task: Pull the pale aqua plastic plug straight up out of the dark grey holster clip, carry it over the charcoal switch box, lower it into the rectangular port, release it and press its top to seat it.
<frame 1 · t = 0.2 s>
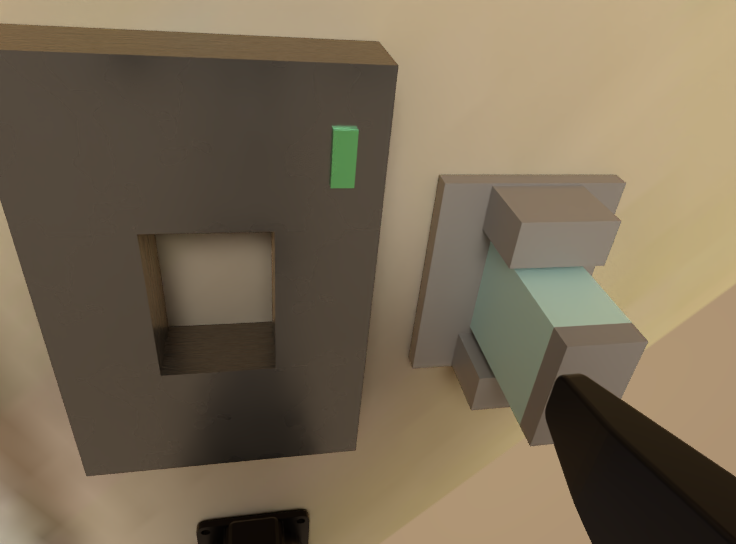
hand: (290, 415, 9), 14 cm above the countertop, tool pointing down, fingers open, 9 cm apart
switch: (216, 263, 23), on the countertop
holster: (504, 273, 27), on the countertop
plug: (511, 282, 26), point 1 cm above the countertop, touching holster
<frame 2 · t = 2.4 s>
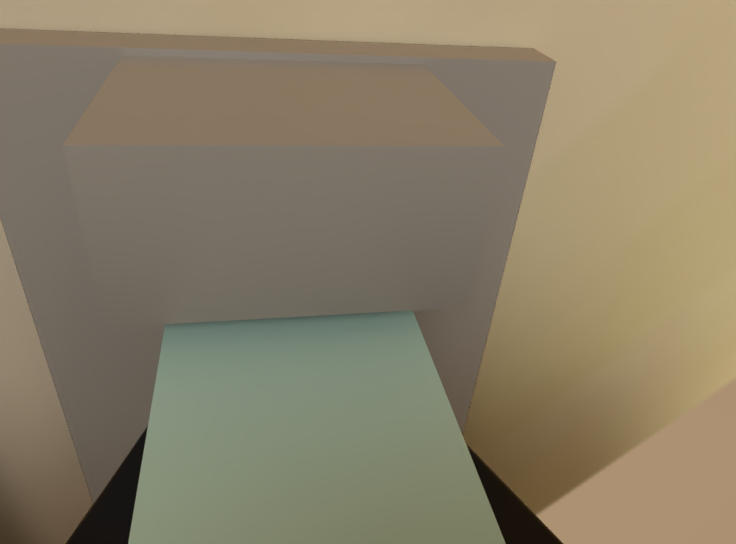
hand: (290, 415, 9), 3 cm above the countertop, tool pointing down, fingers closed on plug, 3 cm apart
holster: (281, 311, 11), on the countertop
plug: (283, 338, 10), point 1 cm above the countertop, touching gripper, holster
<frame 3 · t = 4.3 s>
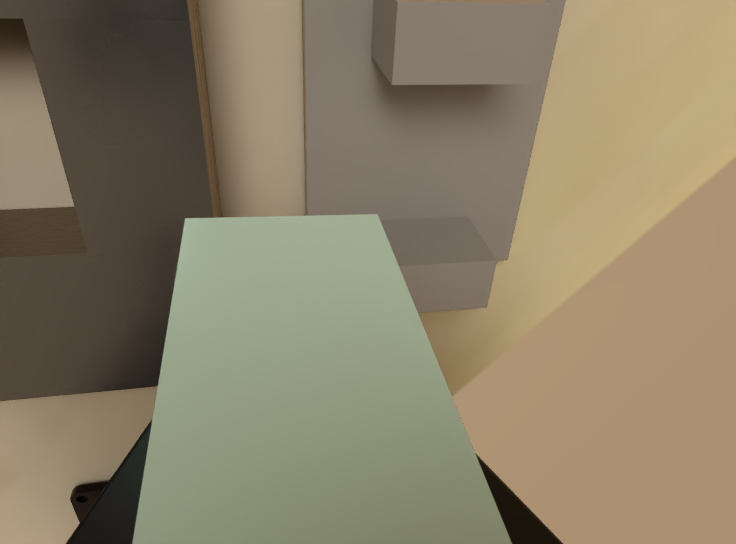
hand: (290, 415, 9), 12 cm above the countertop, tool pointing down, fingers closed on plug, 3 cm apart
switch: (4, 113, 17), on the countertop
holster: (418, 135, 20), on the countertop
plug: (285, 337, 10), point 11 cm above the countertop, touching gripper
when the fingers open (4 cm above the countertop, at t = 6.3 s): plug drops 2 cm, resting in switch.
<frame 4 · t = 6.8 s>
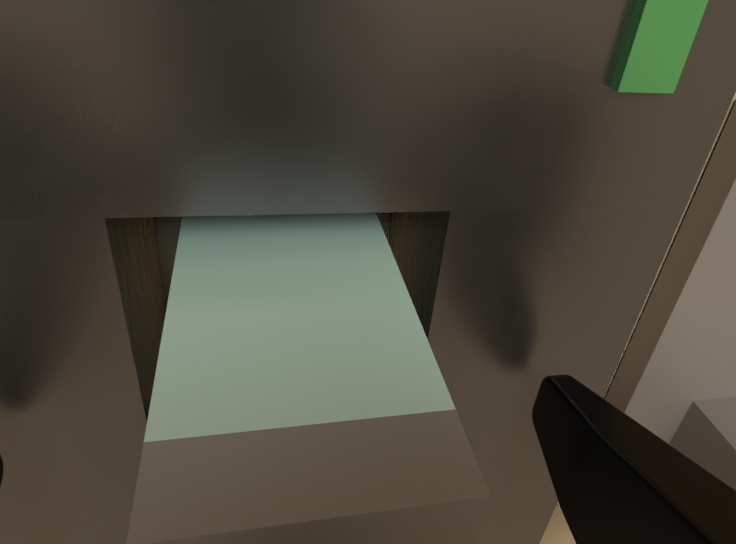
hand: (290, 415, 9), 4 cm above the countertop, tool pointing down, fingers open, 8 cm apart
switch: (278, 284, 12), on the countertop
plug: (280, 280, 12), resting in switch
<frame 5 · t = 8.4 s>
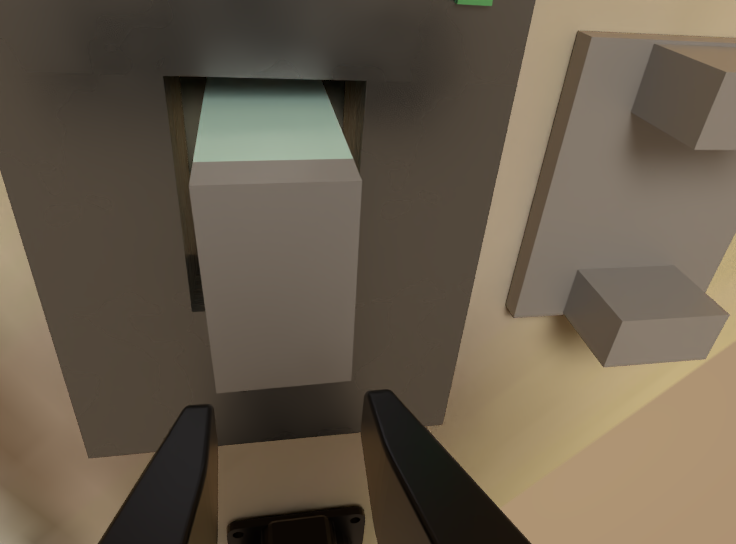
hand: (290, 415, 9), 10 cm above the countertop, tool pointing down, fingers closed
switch: (266, 160, 17), on the countertop
holster: (641, 186, 20), on the countertop
plug: (268, 158, 17), resting in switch
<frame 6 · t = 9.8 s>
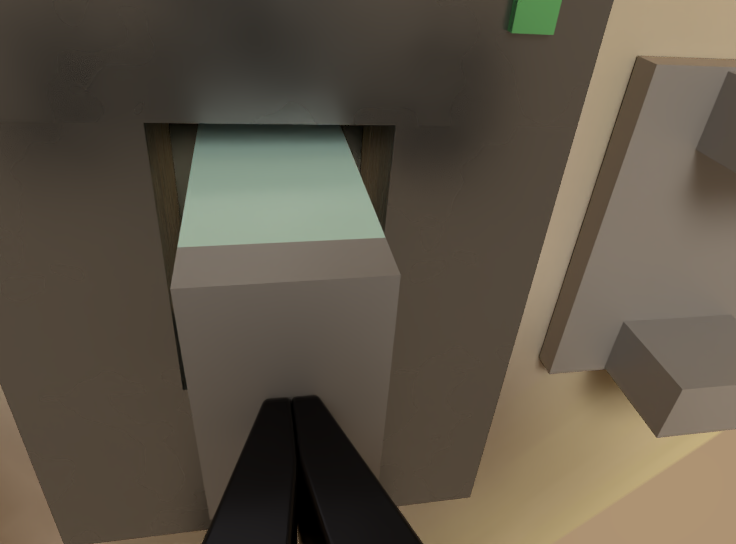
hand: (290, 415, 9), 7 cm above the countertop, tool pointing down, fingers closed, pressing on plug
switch: (271, 206, 14), on the countertop
holster: (697, 228, 18), on the countertop
plug: (272, 204, 15), resting in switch, touching gripper
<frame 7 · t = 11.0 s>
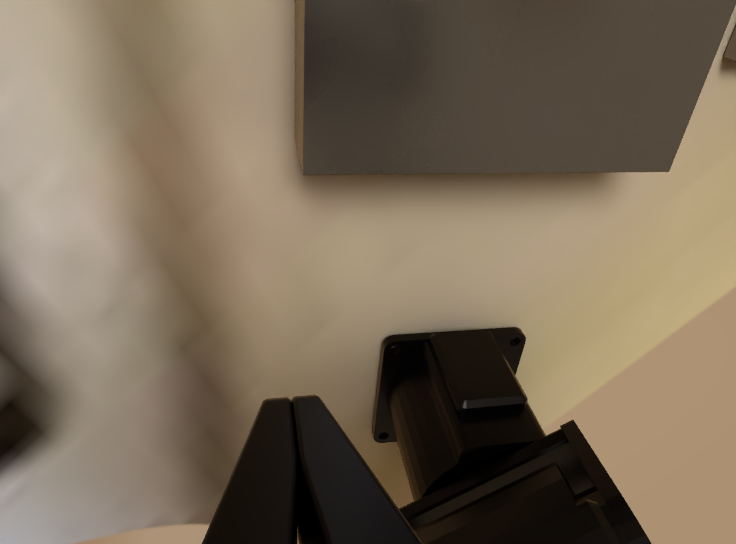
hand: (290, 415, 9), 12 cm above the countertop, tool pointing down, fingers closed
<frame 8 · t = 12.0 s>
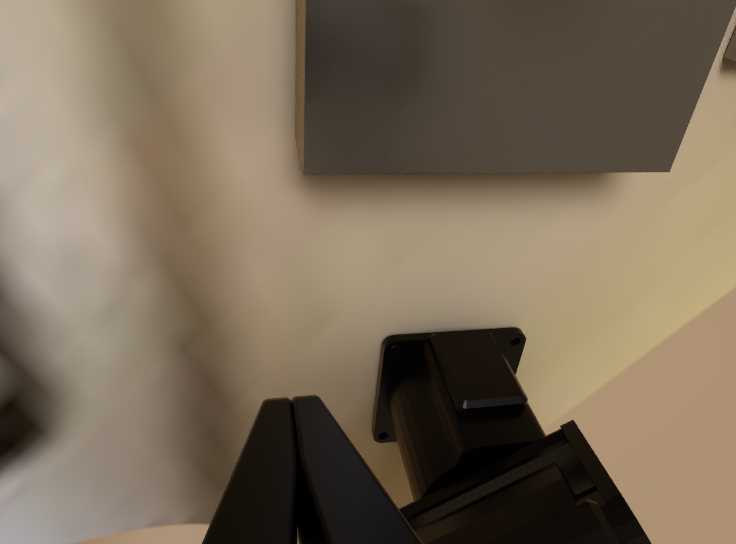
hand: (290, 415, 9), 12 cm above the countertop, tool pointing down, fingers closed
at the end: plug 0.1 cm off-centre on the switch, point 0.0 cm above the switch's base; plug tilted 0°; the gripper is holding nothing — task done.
